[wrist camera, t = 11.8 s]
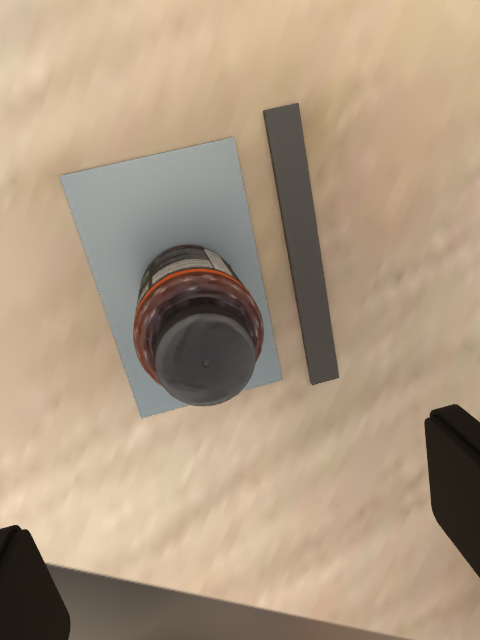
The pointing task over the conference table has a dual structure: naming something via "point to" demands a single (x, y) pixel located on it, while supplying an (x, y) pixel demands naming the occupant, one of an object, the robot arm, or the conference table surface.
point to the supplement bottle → (196, 326)
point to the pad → (165, 240)
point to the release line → (302, 239)
